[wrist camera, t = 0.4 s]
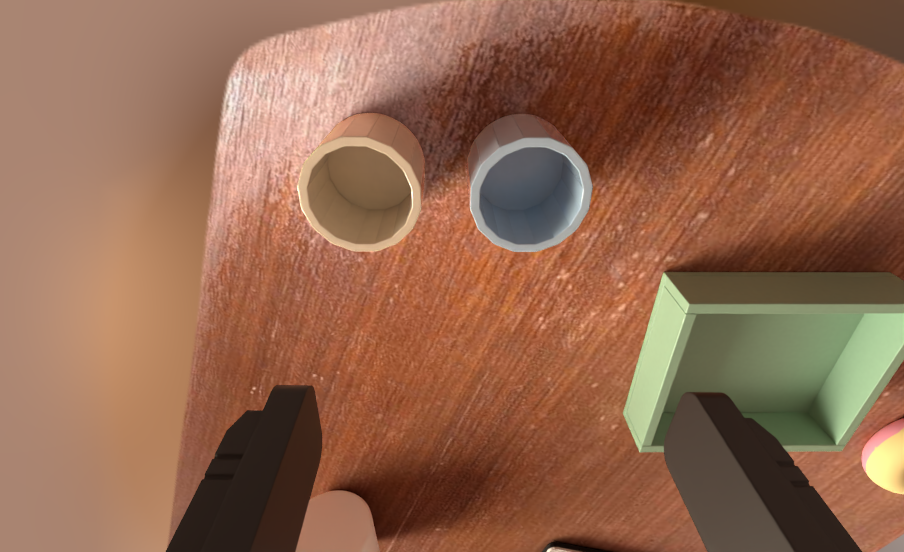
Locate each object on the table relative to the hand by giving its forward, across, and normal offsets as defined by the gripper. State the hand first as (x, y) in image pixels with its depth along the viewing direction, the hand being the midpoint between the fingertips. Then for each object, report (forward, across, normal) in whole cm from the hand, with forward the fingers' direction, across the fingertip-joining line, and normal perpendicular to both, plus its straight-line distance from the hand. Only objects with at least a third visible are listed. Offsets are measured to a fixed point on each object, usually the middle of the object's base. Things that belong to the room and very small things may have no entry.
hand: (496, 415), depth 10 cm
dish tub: (+21, -23, +16) cm, 35 cm away
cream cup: (+21, +6, +1) cm, 22 cm away
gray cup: (+21, -3, +1) cm, 22 cm away
